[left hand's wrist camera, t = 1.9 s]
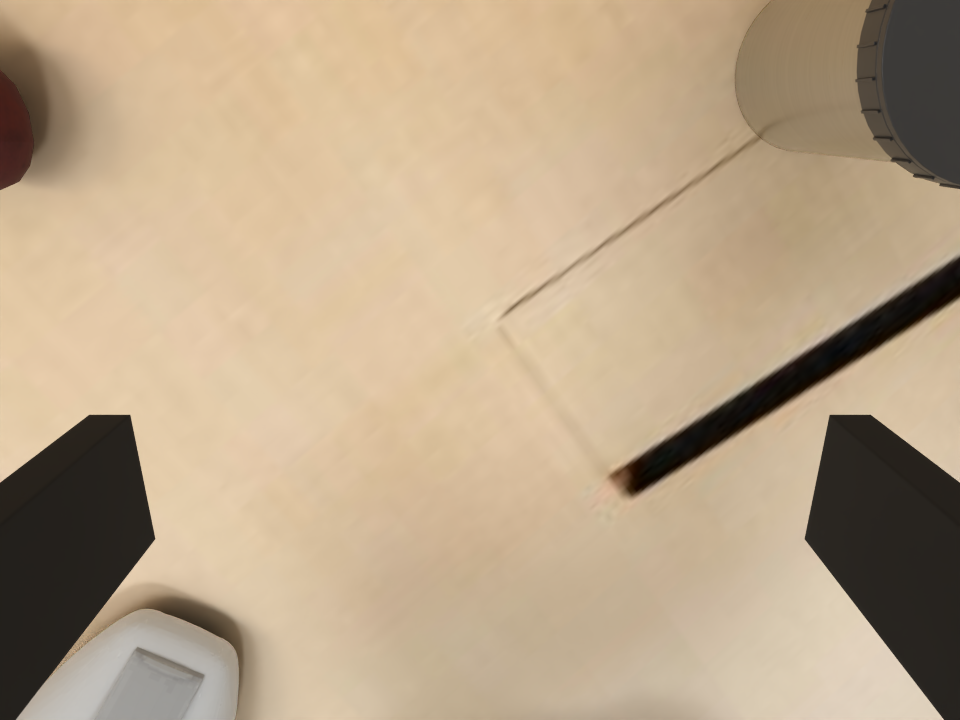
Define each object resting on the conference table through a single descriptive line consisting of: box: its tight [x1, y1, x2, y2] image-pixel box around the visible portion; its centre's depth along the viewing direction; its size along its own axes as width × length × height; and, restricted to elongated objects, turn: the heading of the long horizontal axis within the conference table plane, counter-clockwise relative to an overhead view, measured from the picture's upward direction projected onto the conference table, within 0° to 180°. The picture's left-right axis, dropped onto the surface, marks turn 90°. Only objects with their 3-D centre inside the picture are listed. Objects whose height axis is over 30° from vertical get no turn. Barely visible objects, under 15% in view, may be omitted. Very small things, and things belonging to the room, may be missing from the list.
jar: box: [735, 0, 892, 162], centre depth 29 cm, size 9×9×15 cm
